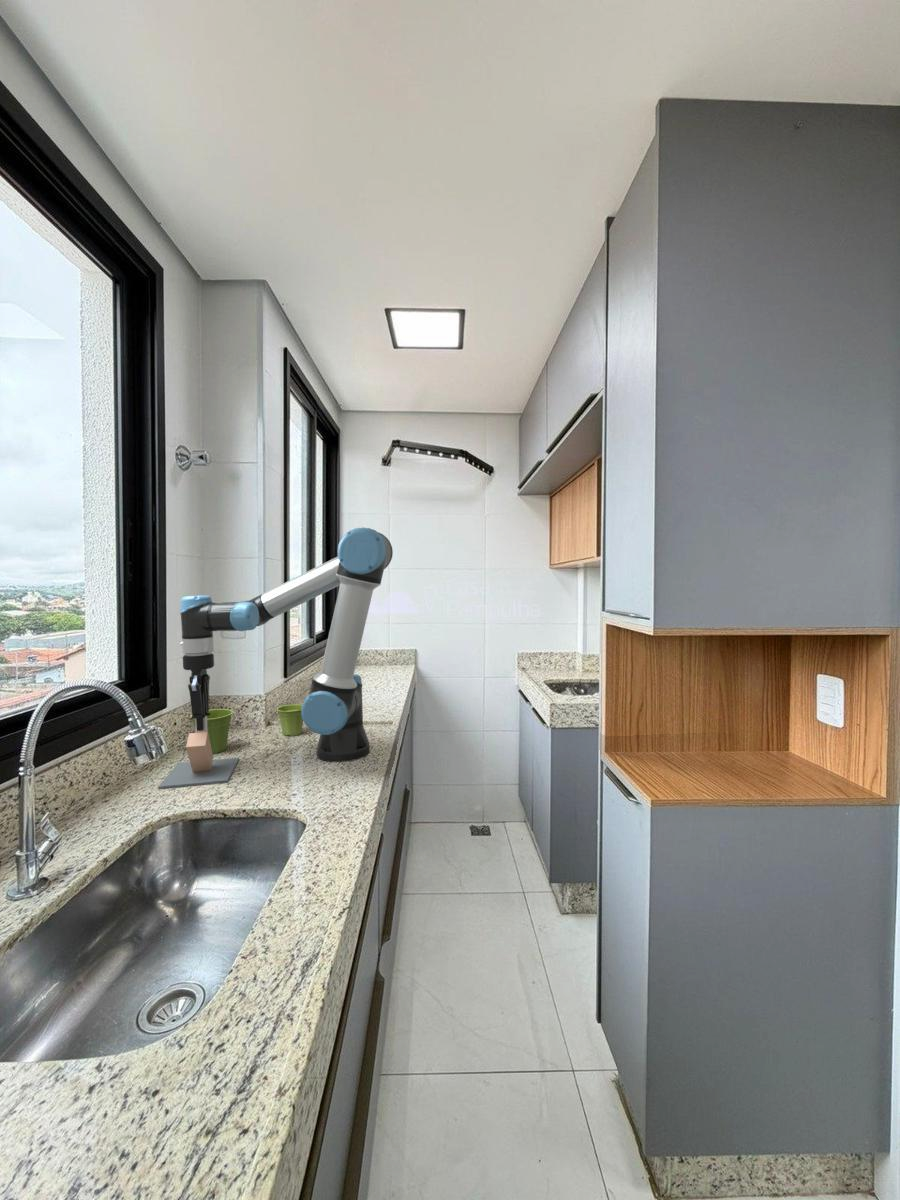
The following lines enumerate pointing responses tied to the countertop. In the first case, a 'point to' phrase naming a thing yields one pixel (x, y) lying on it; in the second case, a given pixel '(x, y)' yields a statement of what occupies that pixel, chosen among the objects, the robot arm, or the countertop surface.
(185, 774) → the mat
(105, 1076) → the countertop surface
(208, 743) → the block
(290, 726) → the plant pot
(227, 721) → the plant pot
